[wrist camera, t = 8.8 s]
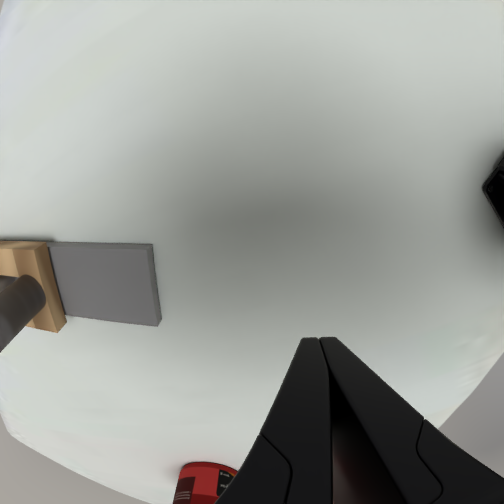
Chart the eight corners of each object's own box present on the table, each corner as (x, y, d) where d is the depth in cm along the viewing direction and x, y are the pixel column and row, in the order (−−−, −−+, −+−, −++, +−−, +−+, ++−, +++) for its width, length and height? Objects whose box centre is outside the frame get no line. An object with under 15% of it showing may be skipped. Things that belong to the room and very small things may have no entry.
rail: (151, 244, 21) (106, 296, 14) (161, 318, 23) (129, 383, 17) (0, 240, 21) (-52, 274, 15) (17, 299, 24) (-27, 340, 17)
